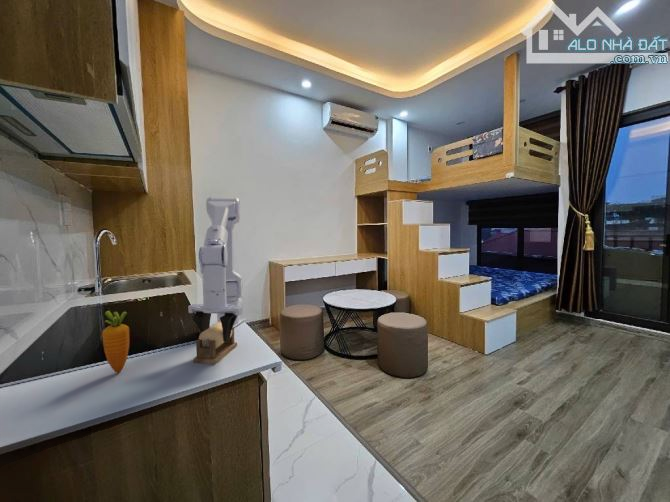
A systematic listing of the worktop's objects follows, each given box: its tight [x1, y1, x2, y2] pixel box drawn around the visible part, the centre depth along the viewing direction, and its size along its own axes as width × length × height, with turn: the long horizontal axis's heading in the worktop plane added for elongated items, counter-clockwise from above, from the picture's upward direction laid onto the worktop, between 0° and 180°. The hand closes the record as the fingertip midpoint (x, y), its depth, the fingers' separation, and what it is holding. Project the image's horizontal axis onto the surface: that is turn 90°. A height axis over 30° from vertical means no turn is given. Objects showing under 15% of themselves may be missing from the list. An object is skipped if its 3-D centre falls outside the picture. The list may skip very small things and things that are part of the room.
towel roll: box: [198, 322, 232, 349], centre depth 76 cm, size 6×10×6 cm, turn 171°
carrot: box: [101, 310, 130, 374], centre depth 66 cm, size 5×5×15 cm
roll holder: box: [193, 328, 238, 365], centre depth 76 cm, size 6×11×6 cm, turn 171°
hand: (216, 339), depth 76 cm, fingers closed on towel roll, 5 cm apart
